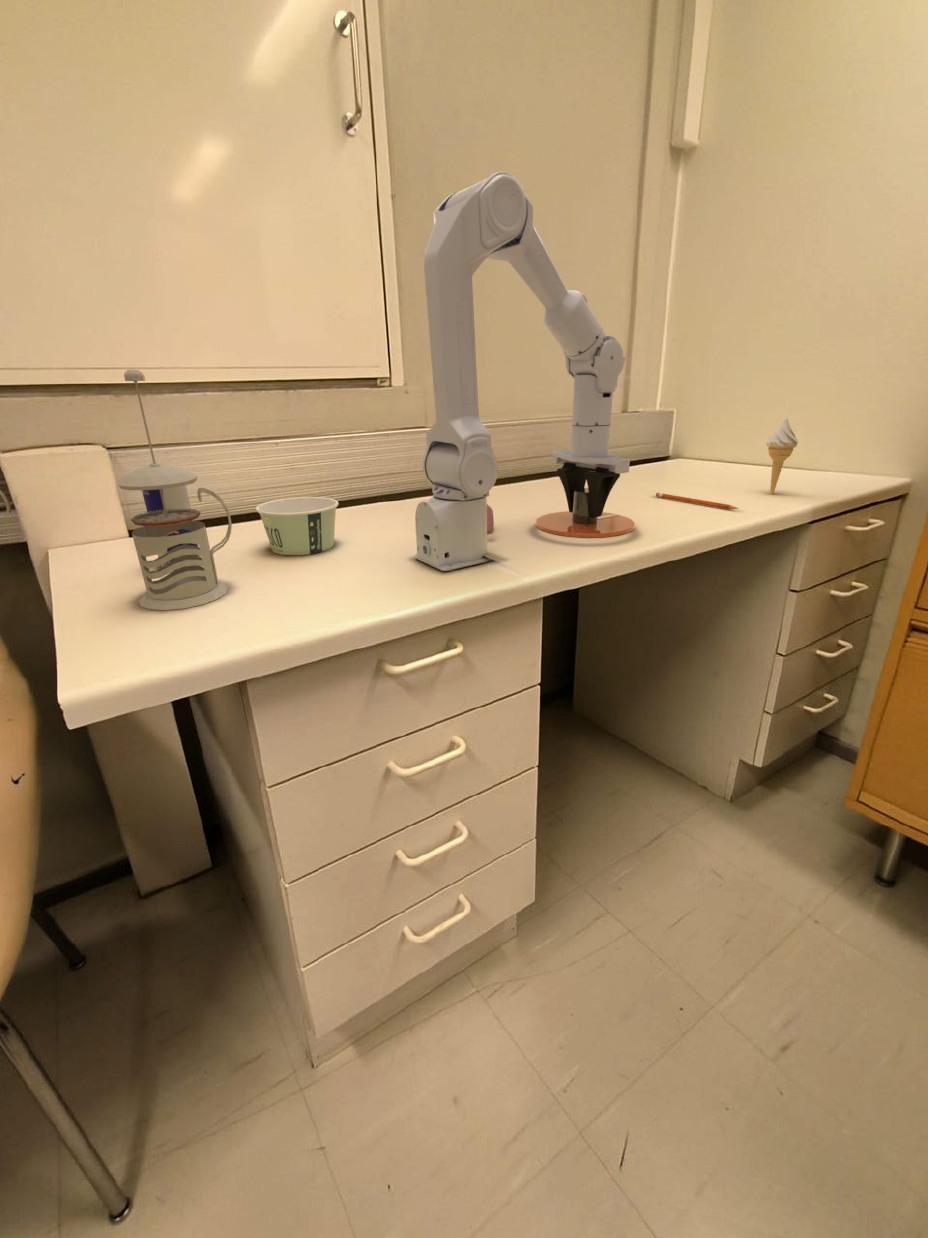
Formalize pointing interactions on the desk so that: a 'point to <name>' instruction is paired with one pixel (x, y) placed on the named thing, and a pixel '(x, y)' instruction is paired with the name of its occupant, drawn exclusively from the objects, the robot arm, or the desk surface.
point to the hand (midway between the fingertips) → (585, 514)
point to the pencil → (696, 501)
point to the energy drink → (172, 500)
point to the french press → (172, 538)
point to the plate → (584, 530)
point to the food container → (299, 524)
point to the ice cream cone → (780, 450)
